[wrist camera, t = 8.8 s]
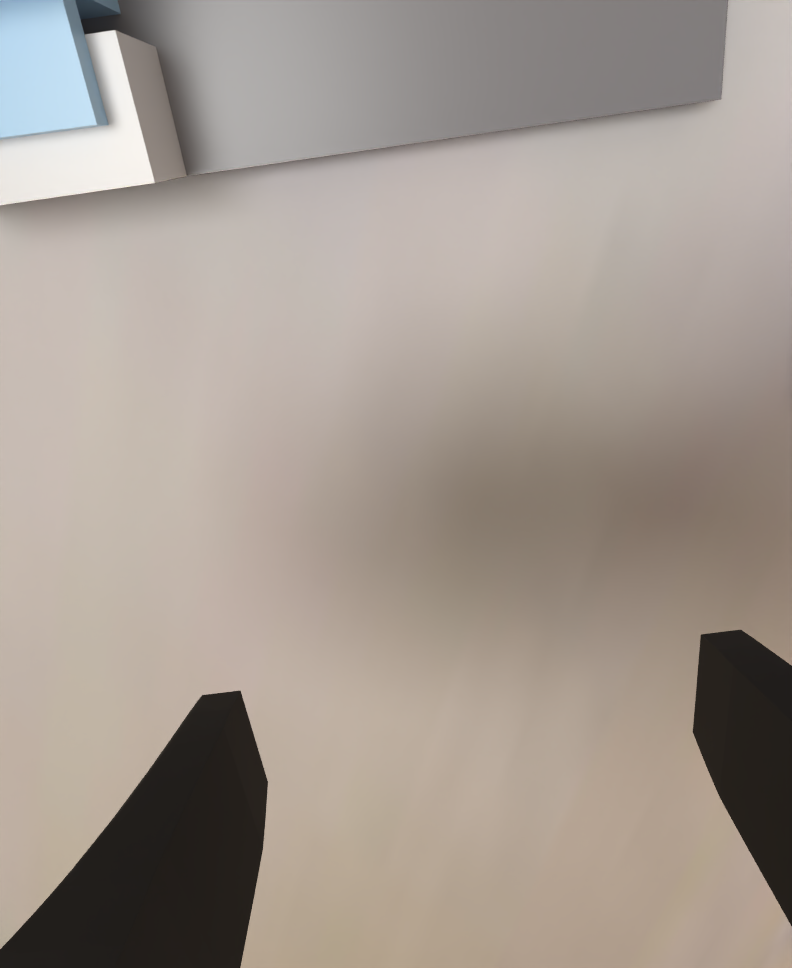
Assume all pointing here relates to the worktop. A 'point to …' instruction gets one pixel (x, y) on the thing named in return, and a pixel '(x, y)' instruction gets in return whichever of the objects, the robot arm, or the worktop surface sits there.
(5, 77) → the block
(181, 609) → the worktop surface
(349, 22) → the plate
